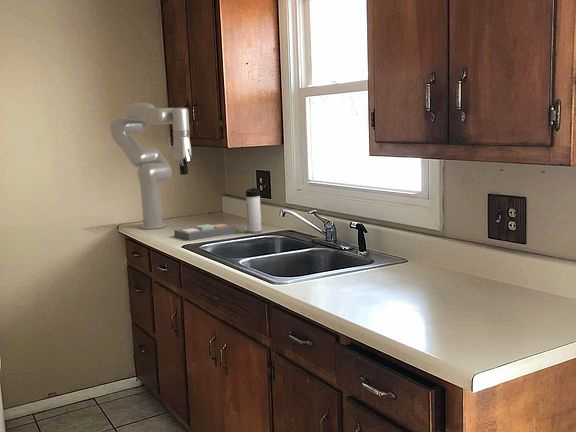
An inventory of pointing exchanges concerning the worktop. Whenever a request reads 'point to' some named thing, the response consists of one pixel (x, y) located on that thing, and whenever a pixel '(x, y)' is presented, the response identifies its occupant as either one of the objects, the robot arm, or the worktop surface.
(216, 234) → the keypad console
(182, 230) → the cream key
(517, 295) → the worktop surface
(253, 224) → the travel mug
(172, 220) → the worktop surface
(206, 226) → the sage key
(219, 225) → the terracotta key
